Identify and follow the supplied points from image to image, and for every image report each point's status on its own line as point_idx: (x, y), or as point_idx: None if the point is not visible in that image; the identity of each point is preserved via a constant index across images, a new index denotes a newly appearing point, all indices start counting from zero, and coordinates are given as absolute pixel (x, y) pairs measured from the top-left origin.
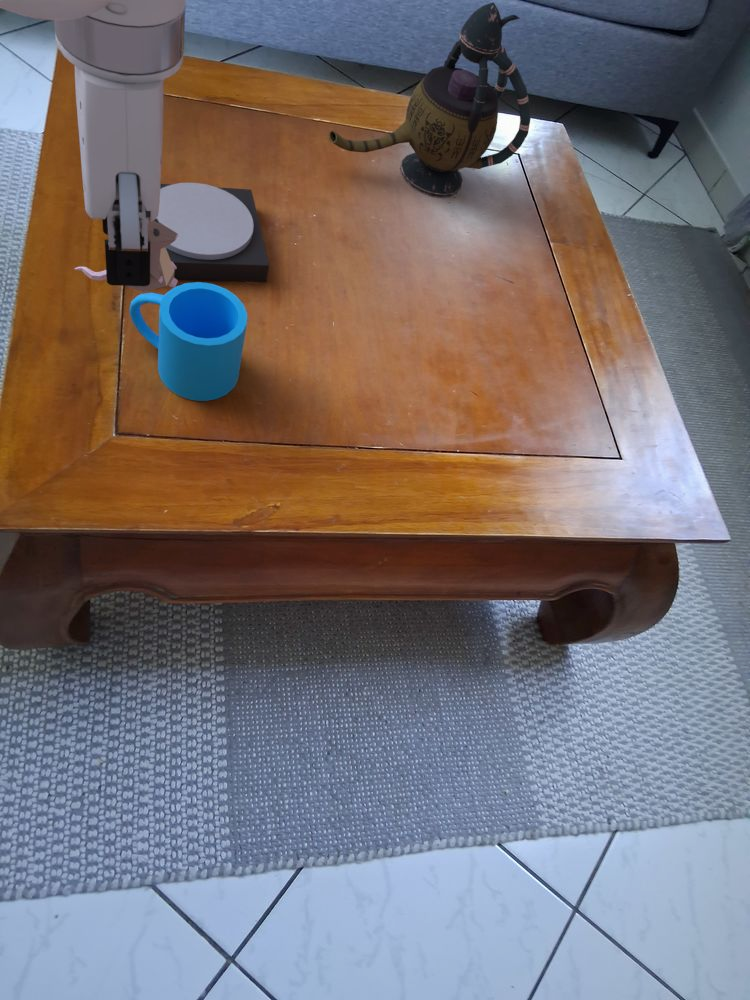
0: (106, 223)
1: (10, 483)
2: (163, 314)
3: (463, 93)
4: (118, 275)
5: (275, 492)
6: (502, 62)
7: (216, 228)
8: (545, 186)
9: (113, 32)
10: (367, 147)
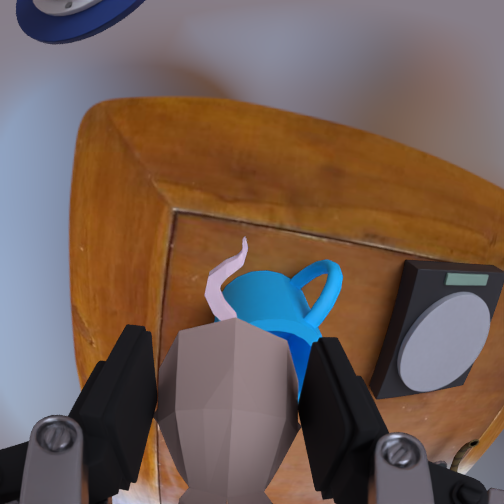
0: (320, 365)
1: (124, 99)
2: (272, 323)
3: None
4: (95, 370)
5: (105, 346)
6: None
7: (431, 361)
8: None
9: None
10: (456, 459)
